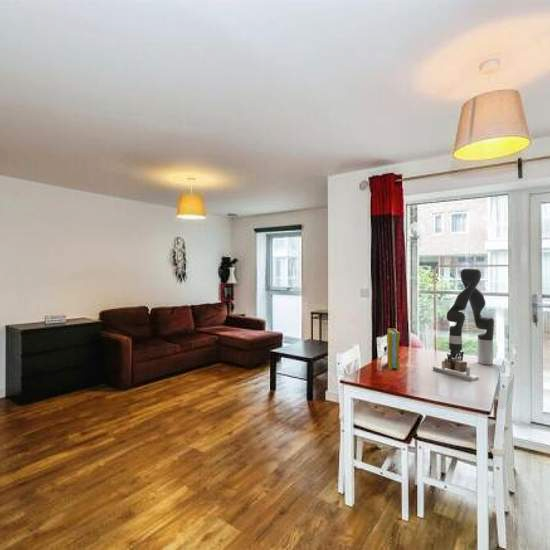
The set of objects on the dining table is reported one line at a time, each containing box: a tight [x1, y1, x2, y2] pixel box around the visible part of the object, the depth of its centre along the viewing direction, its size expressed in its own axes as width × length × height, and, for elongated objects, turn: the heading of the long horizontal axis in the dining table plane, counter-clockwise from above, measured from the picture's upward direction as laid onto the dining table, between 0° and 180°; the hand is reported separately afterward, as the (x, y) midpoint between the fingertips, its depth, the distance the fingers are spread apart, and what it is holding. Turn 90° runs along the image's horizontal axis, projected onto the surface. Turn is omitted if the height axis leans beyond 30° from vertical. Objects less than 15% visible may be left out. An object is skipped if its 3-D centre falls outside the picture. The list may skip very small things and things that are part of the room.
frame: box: [444, 357, 468, 373], centre depth 224 cm, size 12×5×6 cm, turn 29°
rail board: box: [432, 360, 479, 382], centre depth 224 cm, size 8×26×6 cm, turn 29°
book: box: [386, 327, 401, 371], centre depth 243 cm, size 17×7×25 cm, turn 168°
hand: (455, 368), depth 224 cm, fingers closed on frame, 5 cm apart
